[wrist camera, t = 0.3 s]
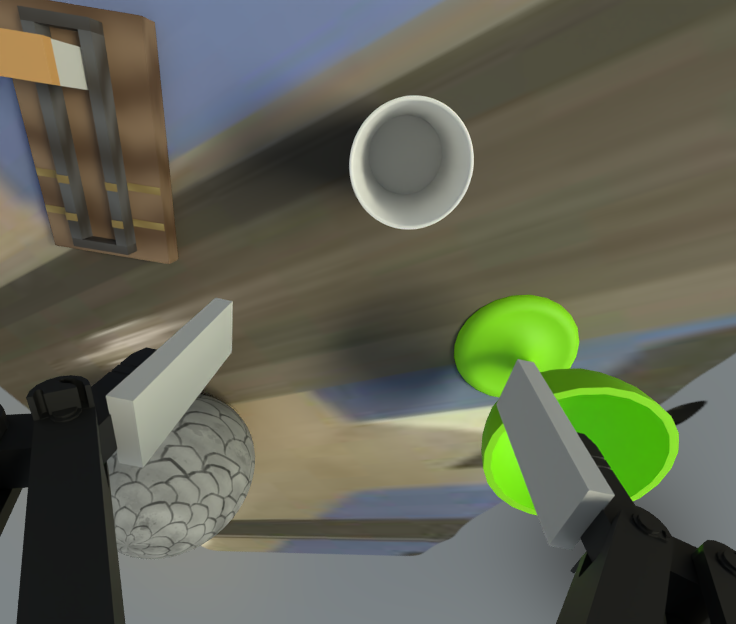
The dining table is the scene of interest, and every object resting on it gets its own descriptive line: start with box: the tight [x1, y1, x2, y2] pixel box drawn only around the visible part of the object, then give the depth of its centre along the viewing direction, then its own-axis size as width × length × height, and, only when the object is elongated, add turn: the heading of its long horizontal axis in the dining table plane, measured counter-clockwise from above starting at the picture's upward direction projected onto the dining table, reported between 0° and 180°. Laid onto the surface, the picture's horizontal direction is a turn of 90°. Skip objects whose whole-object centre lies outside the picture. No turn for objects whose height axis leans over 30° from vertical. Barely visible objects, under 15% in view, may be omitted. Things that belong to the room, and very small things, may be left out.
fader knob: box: [0, 28, 89, 90], centre depth 31 cm, size 3×5×6 cm
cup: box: [349, 96, 474, 229], centre depth 30 cm, size 8×8×16 cm
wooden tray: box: [0, 0, 178, 264], centre depth 37 cm, size 24×14×4 cm, turn 172°
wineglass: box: [454, 295, 679, 515], centre depth 39 cm, size 16×16×18 cm
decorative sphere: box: [107, 394, 255, 559], centre depth 47 cm, size 20×20×20 cm
